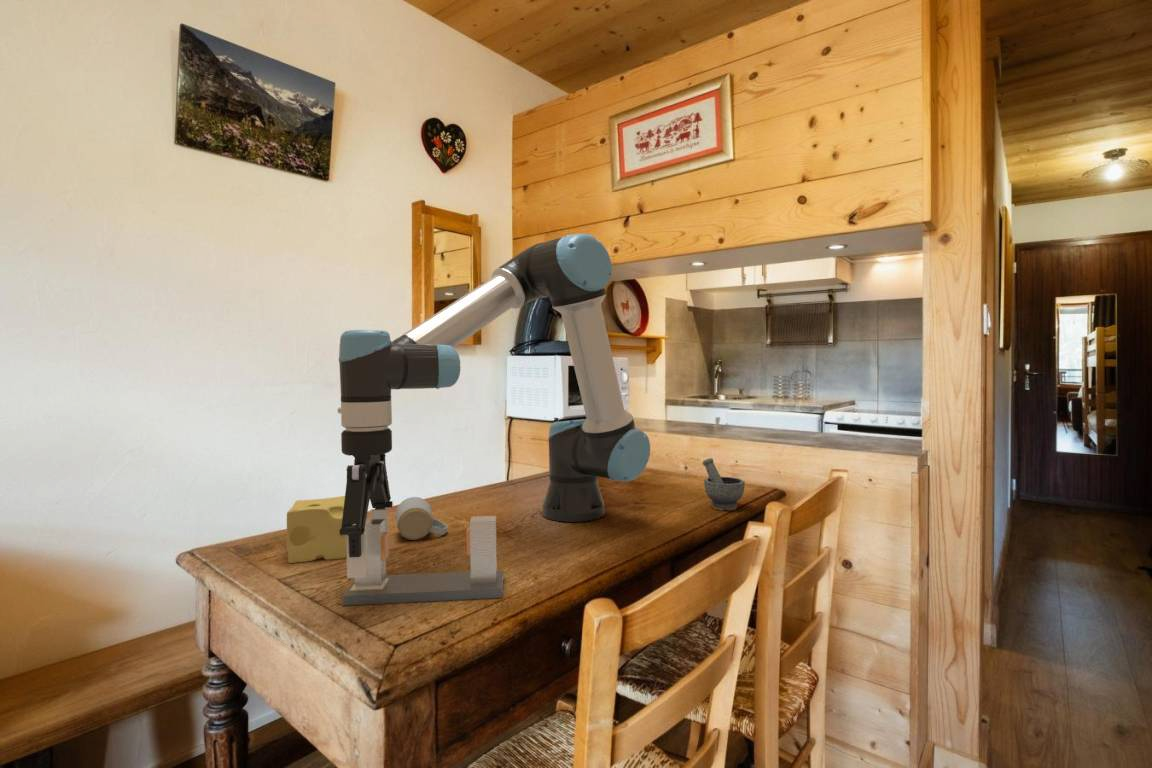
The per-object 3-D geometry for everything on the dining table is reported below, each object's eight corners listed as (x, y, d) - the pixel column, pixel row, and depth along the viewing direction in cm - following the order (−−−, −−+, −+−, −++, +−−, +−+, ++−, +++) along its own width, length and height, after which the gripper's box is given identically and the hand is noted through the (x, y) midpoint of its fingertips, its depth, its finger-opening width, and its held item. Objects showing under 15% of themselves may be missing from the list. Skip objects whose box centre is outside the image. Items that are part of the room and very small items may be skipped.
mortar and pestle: (751, 508, 143) (751, 460, 142) (729, 514, 137) (729, 465, 136) (714, 500, 151) (714, 455, 151) (692, 506, 145) (692, 459, 145)
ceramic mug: (397, 543, 116) (397, 506, 116) (395, 532, 124) (395, 497, 124) (449, 539, 120) (449, 502, 120) (445, 528, 128) (445, 494, 127)
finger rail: (503, 578, 97) (502, 511, 96) (502, 597, 89) (501, 524, 88) (357, 585, 94) (356, 516, 94) (342, 605, 86) (341, 530, 86)
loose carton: (389, 579, 92) (388, 518, 92) (385, 587, 89) (383, 524, 89) (360, 581, 92) (359, 519, 92) (355, 588, 89) (353, 525, 89)
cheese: (346, 559, 107) (345, 506, 107) (284, 565, 104) (282, 511, 104) (352, 542, 117) (350, 494, 117) (294, 547, 114) (293, 498, 114)
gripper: (363, 420, 102) (365, 538, 102) (313, 438, 77) (317, 593, 78) (406, 420, 102) (408, 536, 103) (370, 437, 78) (374, 590, 78)
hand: (369, 561), depth 90 cm, fingers open, 13 cm apart
